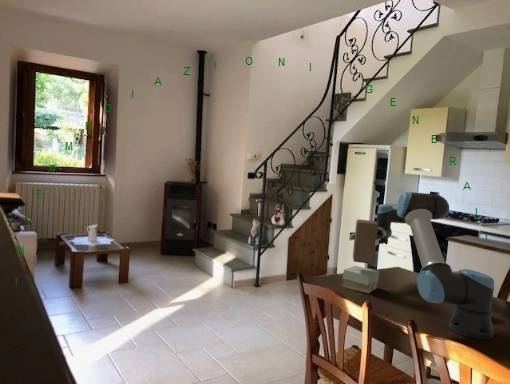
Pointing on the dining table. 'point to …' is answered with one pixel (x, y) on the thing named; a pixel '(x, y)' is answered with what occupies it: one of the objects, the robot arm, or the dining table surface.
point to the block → (365, 241)
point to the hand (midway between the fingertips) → (362, 240)
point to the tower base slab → (360, 286)
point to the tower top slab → (361, 275)
